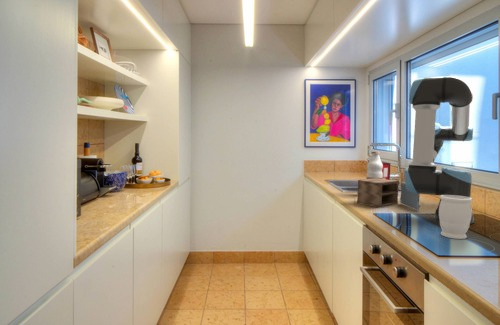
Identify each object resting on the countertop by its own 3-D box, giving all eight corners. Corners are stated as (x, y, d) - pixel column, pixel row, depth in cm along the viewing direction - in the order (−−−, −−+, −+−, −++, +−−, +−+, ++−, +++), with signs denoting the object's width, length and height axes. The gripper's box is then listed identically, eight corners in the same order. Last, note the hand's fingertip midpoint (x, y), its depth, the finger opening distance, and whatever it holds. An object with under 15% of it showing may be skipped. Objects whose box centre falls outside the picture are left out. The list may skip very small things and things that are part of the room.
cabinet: (397, 204, 186) (398, 180, 185) (380, 207, 176) (381, 183, 175) (374, 200, 197) (375, 178, 196) (357, 203, 187) (358, 180, 186)
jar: (458, 232, 132) (460, 194, 130) (476, 240, 121) (479, 199, 120) (431, 232, 131) (433, 194, 130) (448, 240, 121) (450, 199, 120)
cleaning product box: (367, 189, 238) (368, 161, 237) (379, 189, 238) (381, 161, 237) (375, 193, 222) (376, 163, 220) (388, 193, 222) (390, 163, 220)
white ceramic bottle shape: (365, 196, 208) (367, 151, 206) (366, 194, 216) (368, 151, 214) (381, 198, 204) (383, 152, 202) (382, 195, 213) (384, 151, 210)
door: (404, 202, 186) (405, 182, 185) (421, 209, 169) (423, 187, 168) (399, 202, 186) (400, 182, 185) (416, 209, 168) (417, 186, 168)
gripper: (441, 163, 186) (424, 195, 177) (418, 161, 196) (401, 192, 188) (437, 154, 182) (420, 186, 174) (413, 152, 193) (396, 183, 184)
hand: (410, 189), depth 181 cm, fingers closed
